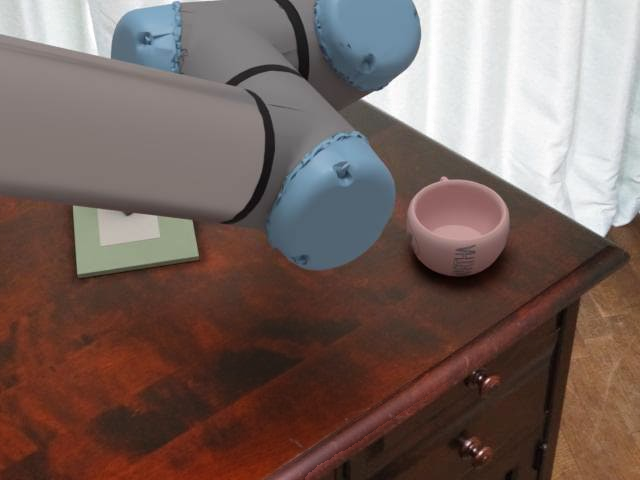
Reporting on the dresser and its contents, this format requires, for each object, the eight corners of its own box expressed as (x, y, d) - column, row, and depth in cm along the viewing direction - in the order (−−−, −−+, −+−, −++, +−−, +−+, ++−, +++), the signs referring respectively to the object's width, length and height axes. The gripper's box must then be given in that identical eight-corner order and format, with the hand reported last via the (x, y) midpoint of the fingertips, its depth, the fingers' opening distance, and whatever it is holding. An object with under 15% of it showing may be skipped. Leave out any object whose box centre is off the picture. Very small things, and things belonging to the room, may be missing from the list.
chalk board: (199, 260, 114) (198, 255, 114) (78, 278, 113) (76, 273, 112) (175, 130, 130) (175, 125, 130) (69, 145, 129) (68, 140, 128)
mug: (517, 283, 111) (523, 237, 107) (416, 295, 110) (418, 249, 106) (486, 203, 120) (490, 158, 116) (392, 214, 119) (394, 169, 115)
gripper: (169, 201, 81) (87, 250, 100) (422, 70, 93) (307, 135, 112) (117, 107, 81) (45, 174, 99) (378, -13, 93) (270, 67, 111)
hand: (183, 154), depth 106 cm, fingers open, 13 cm apart
